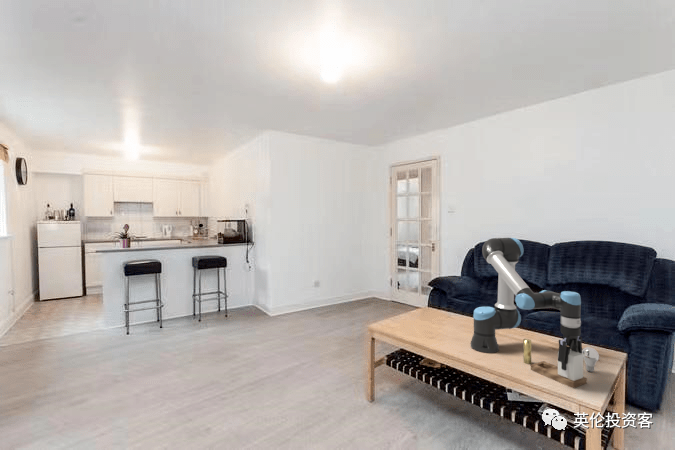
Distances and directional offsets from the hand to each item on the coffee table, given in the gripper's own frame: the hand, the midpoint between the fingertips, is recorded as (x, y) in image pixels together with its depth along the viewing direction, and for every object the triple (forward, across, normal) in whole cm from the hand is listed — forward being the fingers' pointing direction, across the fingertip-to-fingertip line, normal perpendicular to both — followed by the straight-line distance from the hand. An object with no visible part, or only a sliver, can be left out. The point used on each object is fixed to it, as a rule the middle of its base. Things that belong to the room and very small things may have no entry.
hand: (570, 374), depth 152 cm
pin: (+3, +1, +22) cm, 22 cm away
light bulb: (+4, +19, +2) cm, 19 cm away
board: (+3, 0, +6) cm, 7 cm away
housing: (+1, 0, 0) cm, 1 cm away
